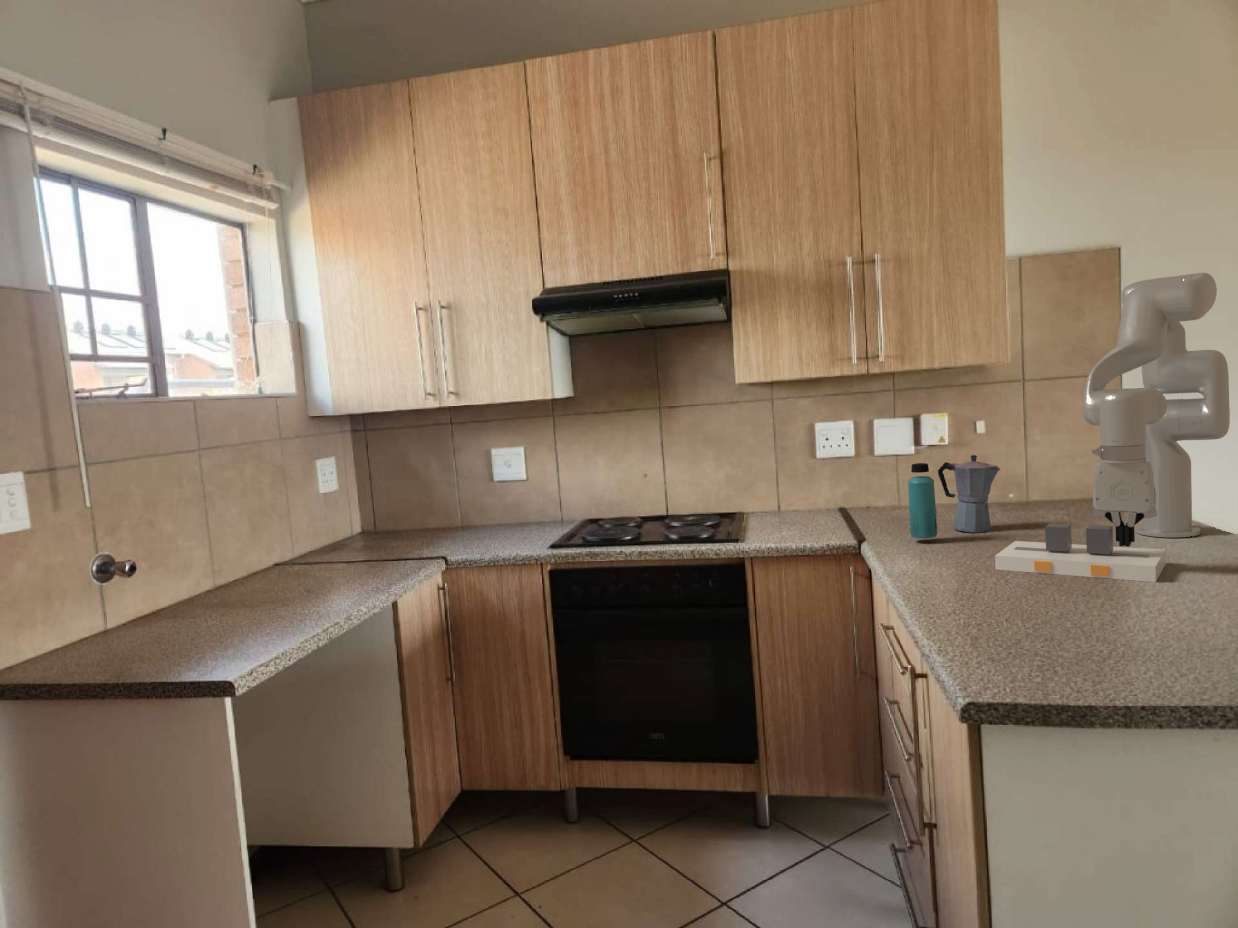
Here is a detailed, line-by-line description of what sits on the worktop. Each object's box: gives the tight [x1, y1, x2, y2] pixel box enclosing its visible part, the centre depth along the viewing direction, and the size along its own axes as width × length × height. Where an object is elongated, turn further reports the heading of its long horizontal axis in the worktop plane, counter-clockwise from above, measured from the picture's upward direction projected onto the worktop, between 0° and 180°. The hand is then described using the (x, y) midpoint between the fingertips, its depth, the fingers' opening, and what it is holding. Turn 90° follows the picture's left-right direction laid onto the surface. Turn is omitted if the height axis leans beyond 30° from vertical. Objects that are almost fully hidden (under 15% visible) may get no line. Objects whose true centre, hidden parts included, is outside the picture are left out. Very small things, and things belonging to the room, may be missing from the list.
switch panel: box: [994, 540, 1167, 583], centre depth 161 cm, size 16×28×3 cm, turn 49°
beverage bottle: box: [907, 462, 939, 539], centre depth 195 cm, size 6×7×20 cm
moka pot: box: [937, 454, 1002, 534], centre depth 205 cm, size 10×15×20 cm, turn 58°
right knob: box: [1085, 524, 1114, 554], centre depth 158 cm, size 4×4×5 cm
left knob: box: [1044, 523, 1073, 552], centre depth 163 cm, size 4×4×5 cm
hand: (1125, 545), depth 155 cm, fingers closed
